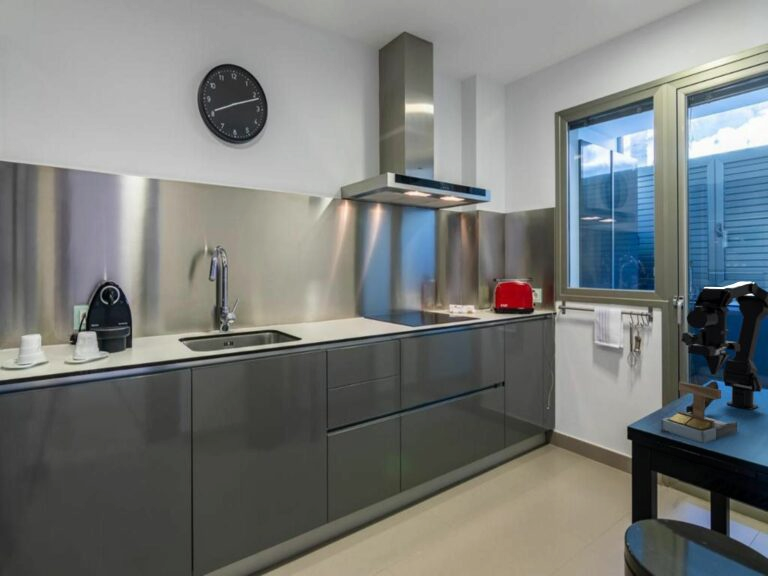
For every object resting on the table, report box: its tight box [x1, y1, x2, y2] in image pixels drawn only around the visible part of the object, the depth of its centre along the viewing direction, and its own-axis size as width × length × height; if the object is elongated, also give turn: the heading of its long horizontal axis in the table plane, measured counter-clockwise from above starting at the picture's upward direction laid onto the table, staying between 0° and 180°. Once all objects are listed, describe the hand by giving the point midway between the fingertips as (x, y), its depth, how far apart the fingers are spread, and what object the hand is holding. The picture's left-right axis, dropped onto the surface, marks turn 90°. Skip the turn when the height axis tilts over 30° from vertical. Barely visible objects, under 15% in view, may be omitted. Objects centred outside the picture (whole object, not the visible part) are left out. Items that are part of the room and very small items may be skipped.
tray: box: [660, 416, 717, 444], centre depth 119 cm, size 6×11×3 cm, turn 25°
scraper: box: [677, 381, 722, 429], centre depth 120 cm, size 3×10×11 cm, turn 26°
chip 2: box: [686, 418, 711, 431], centre depth 117 cm, size 4×4×3 cm
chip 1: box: [669, 412, 692, 426], centre depth 121 cm, size 4×4×3 cm
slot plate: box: [686, 411, 738, 440], centre depth 122 cm, size 10×11×3 cm
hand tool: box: [685, 380, 719, 413], centre depth 133 cm, size 19×4×5 cm, turn 119°
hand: (713, 374), depth 134 cm, fingers closed
